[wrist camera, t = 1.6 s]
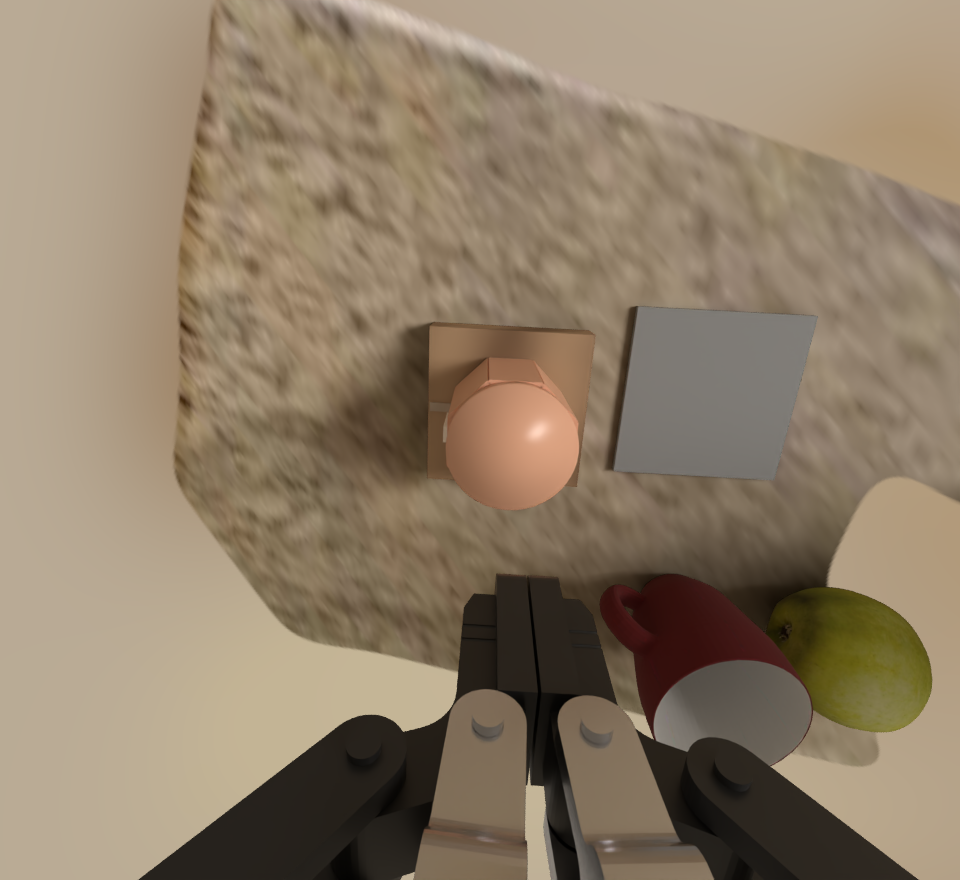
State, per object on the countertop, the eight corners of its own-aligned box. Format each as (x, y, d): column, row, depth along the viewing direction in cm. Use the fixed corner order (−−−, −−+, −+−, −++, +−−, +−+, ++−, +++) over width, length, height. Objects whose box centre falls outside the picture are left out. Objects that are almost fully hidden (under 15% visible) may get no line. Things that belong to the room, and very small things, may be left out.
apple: (833, 673, 37) (920, 779, 29) (721, 635, 36) (781, 734, 28) (898, 589, 34) (1012, 681, 27) (780, 546, 33) (863, 629, 26)
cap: (564, 361, 28) (586, 388, 22) (554, 462, 30) (571, 513, 24) (451, 355, 28) (441, 381, 22) (448, 456, 30) (438, 506, 24)
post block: (589, 330, 29) (616, 350, 22) (571, 473, 32) (591, 528, 25) (433, 322, 29) (415, 339, 23) (431, 465, 32) (414, 517, 26)
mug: (558, 610, 36) (580, 736, 26) (610, 517, 33) (656, 619, 24) (689, 658, 37) (757, 796, 27) (750, 571, 34) (847, 689, 25)
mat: (813, 315, 28) (818, 316, 28) (770, 477, 32) (774, 480, 31) (636, 306, 28) (638, 306, 28) (612, 468, 32) (613, 471, 31)
